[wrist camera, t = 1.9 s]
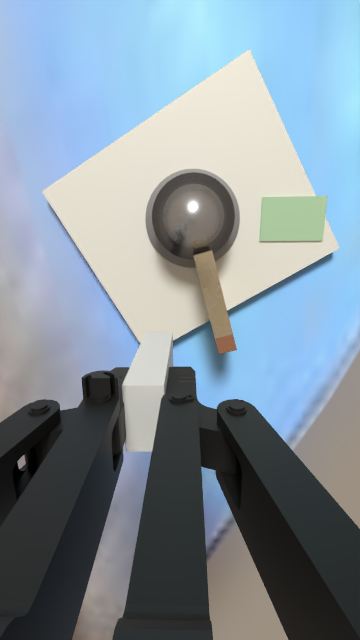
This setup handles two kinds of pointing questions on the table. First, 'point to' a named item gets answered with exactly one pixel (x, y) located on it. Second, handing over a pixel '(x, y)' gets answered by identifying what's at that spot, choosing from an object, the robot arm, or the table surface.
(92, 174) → the board
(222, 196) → the peg dial
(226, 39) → the table surface
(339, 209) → the table surface
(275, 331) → the table surface
